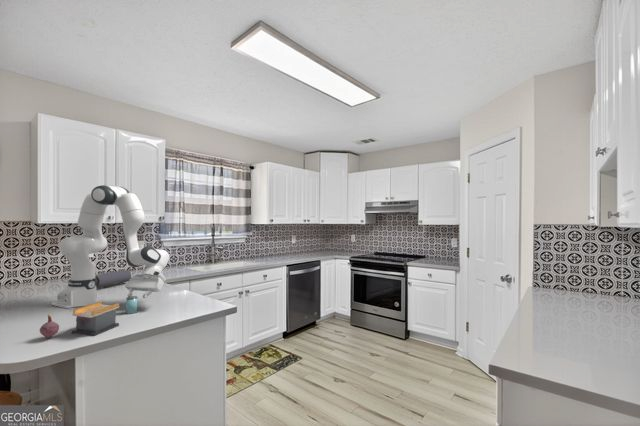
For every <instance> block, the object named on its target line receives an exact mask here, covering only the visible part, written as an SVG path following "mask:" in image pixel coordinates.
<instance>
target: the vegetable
mask: <svg viewBox="0 0 640 426" xmlns="http://www.w3.org/2000/svg"><path fill="white" fill-rule="evenodd" d="M59 330H60V325H59V323H57V322H55V321H53V320H52V317H51V315H50V314H47V322H45V323H44V324H42V325H41V326H40V328H39V333H40V335H42V336H43V337H45V338H46V339H50V338H52V337H53V336H55V335H56V334H57V333H58V332H59Z"/></svg>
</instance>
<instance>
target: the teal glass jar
mask: <svg viewBox="0 0 640 426" xmlns="http://www.w3.org/2000/svg"><path fill="white" fill-rule="evenodd" d="M138 299H139V298H138V296H137V295H132V296H130V297H128V296H127V297H126V299H125V300H126V301H125V303H126V304H125V314H127V315H134V314H136V313H138Z"/></svg>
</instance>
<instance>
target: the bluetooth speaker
mask: <svg viewBox="0 0 640 426" xmlns="http://www.w3.org/2000/svg"><path fill="white" fill-rule="evenodd" d="M95 277H96V284H95V286H96V289H101V288H104V289H108V288H113V287H114V288H115V287H117V286H118V287H119V286H120V285H121V284H124V283H127V282H128V281H129V280H130V279H131V278H132V273H131V271H130V270H126V269H125V270H117V271H112V272H106V273H102V274H101V273H100V274H97V275H96V274H95Z"/></svg>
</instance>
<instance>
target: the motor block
mask: <svg viewBox="0 0 640 426" xmlns="http://www.w3.org/2000/svg"><path fill="white" fill-rule="evenodd" d="M119 308H120V303H118V302H116V303H114V304H113V303H112V304H103V301H101V300H100V301H98V302H96V303H94V304H91V305H86V306H80V307H77V308H75V309H73V310H72V316H73V317H76V318H75V319H76V320H75V323H76V324H75V326H76V328H74V329H72V330H71V333H72V334H76V335H78V334H79V335H86V336H94V337H95V336H98V335H102V333H105V332H108V331H110V330H112V329H115V328H116V327H119V326H120V323H119V322H116V321H117V320H116V319H117V318H116V316H117V315H116V313H117V309H119Z"/></svg>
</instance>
